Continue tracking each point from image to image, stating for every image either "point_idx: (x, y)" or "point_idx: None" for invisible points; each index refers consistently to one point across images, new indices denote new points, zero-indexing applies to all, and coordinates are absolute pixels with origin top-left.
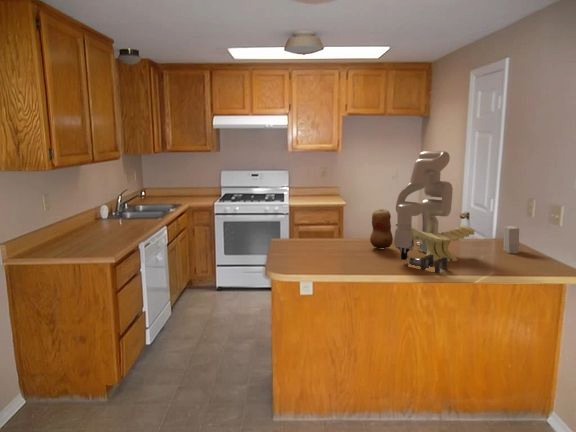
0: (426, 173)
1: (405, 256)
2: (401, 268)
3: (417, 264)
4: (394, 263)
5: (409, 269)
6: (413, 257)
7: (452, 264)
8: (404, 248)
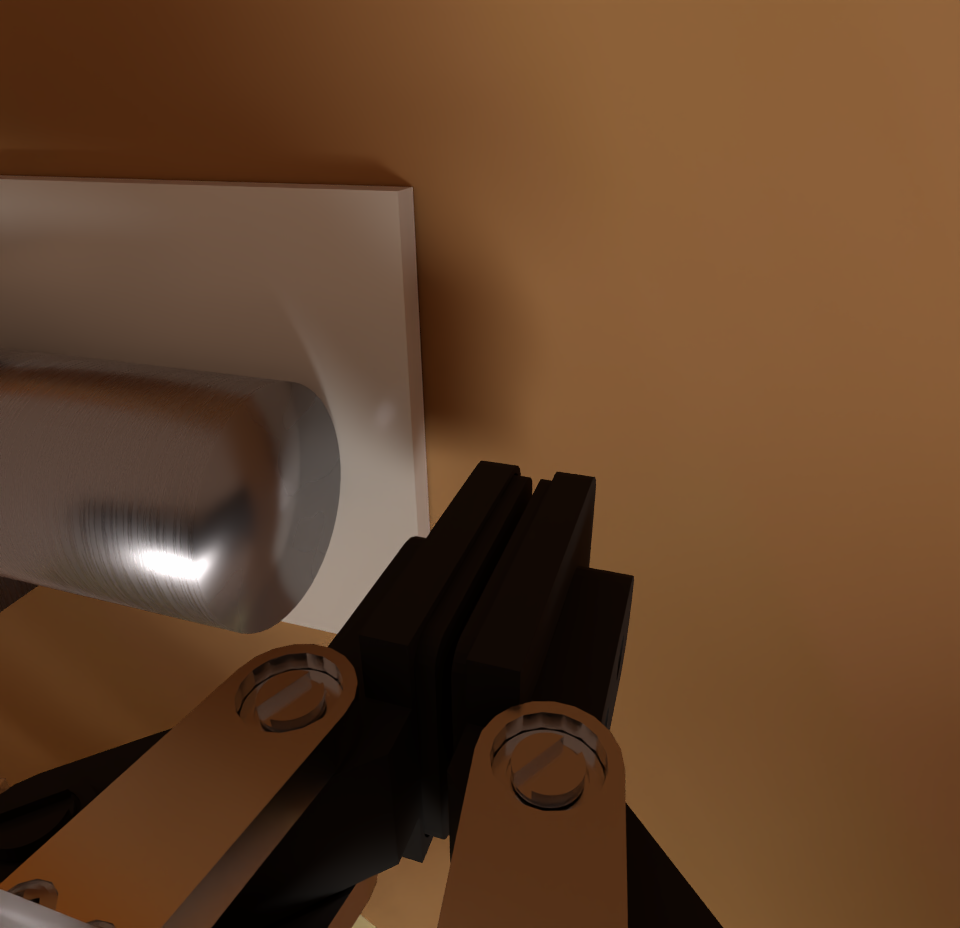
0: None
1: (397, 574)
2: (404, 10)
3: (36, 351)
4: (905, 399)
5: (185, 102)
6: (135, 578)
7: (13, 775)
8: (149, 926)
